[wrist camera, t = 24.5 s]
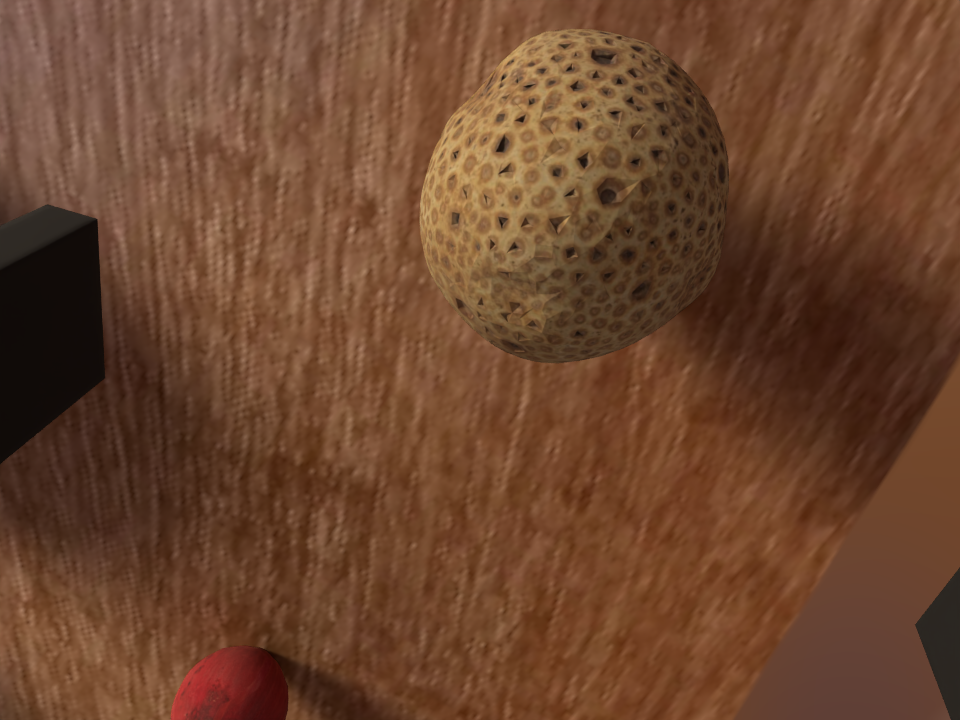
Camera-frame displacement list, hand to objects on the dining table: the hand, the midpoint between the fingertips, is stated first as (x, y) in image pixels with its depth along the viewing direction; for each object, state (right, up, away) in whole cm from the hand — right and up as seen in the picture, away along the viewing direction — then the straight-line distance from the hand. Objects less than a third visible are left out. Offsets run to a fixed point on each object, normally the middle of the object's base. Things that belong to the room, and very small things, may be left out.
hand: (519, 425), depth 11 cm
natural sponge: (+3, +8, +16) cm, 18 cm away
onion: (-13, -16, +33) cm, 39 cm away
